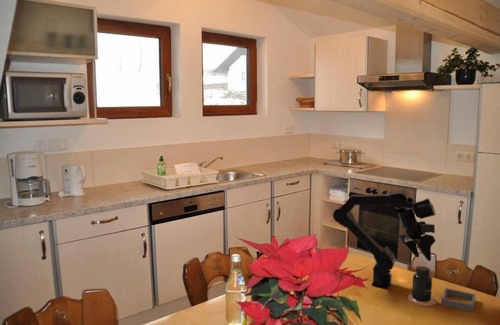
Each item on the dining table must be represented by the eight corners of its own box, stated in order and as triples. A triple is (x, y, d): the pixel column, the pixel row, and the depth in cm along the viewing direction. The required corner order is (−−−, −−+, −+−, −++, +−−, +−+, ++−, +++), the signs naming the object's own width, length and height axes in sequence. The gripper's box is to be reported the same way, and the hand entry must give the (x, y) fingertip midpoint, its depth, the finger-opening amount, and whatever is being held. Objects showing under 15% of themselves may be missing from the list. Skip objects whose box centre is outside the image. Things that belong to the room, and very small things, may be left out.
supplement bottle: (430, 304, 154) (431, 273, 152) (410, 300, 157) (411, 270, 155) (432, 296, 160) (433, 266, 158) (413, 292, 163) (414, 263, 161)
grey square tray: (440, 304, 155) (441, 298, 154) (445, 293, 163) (445, 287, 163) (473, 312, 149) (473, 305, 149) (475, 300, 158) (475, 294, 157)
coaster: (405, 302, 157) (405, 300, 157) (411, 292, 165) (411, 290, 165) (434, 309, 152) (434, 307, 151) (438, 298, 160) (438, 296, 160)
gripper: (439, 215, 156) (455, 254, 155) (415, 213, 174) (429, 247, 174) (413, 226, 154) (429, 265, 154) (392, 222, 173) (405, 257, 172)
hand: (423, 258), depth 164 cm, fingers open, 9 cm apart
